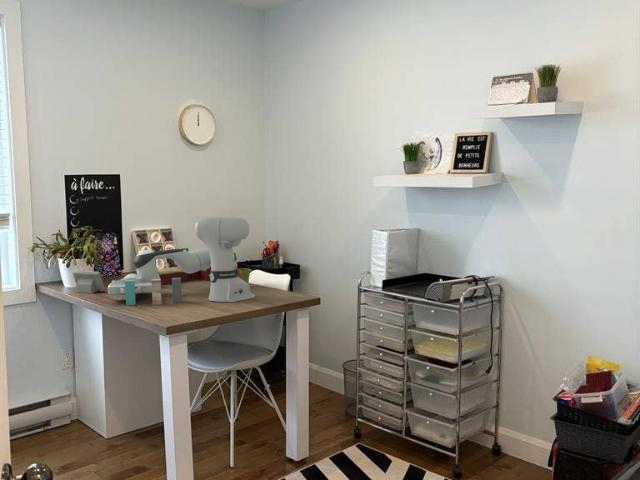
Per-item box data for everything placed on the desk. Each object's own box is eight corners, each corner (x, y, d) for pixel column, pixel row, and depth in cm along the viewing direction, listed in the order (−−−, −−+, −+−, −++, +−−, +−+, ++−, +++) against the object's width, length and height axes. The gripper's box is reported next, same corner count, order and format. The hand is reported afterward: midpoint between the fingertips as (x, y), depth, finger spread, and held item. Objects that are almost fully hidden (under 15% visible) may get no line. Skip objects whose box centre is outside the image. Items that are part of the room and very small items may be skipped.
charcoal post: (172, 301, 289) (171, 278, 288) (181, 300, 290) (180, 277, 289) (172, 302, 285) (172, 279, 284) (181, 302, 286) (181, 279, 285)
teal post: (126, 303, 284) (125, 279, 283) (135, 303, 285) (134, 279, 284) (126, 305, 280) (125, 281, 279) (135, 304, 281) (134, 280, 280)
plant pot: (253, 286, 326) (253, 270, 325) (236, 288, 322) (235, 271, 321) (248, 283, 335) (248, 268, 334) (231, 285, 331) (231, 269, 330)
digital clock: (106, 291, 314) (105, 270, 313) (92, 294, 306) (91, 273, 305) (84, 288, 322) (83, 268, 321) (70, 291, 314) (69, 270, 313)
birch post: (152, 302, 285) (151, 279, 284) (161, 302, 286) (160, 279, 285) (152, 304, 282) (151, 280, 280) (161, 304, 283) (160, 280, 281)
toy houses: (202, 275, 363) (201, 258, 362) (221, 280, 348) (221, 262, 347) (129, 285, 333) (129, 266, 332) (147, 290, 318) (147, 271, 317)
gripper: (153, 291, 298) (154, 297, 284) (109, 293, 292) (107, 299, 279) (153, 278, 297) (153, 283, 284) (108, 280, 291) (106, 285, 278)
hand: (130, 291), depth 281 cm, fingers closed on teal post, 4 cm apart
